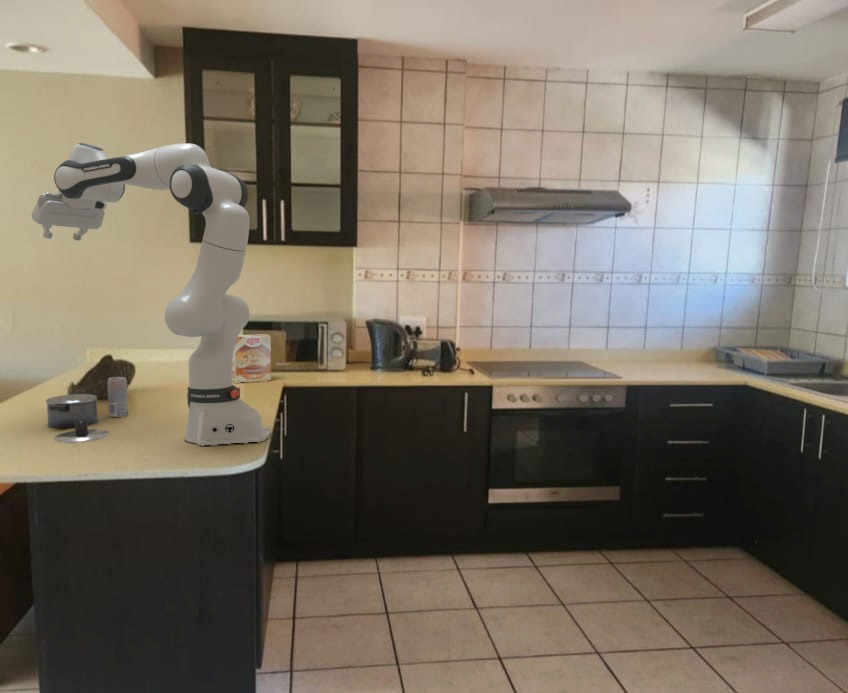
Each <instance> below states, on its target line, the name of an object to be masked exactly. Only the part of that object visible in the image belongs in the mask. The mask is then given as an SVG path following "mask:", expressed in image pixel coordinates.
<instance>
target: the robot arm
mask: <svg viewBox="0 0 848 693" xmlns="http://www.w3.org/2000/svg"><path fill="white" fill-rule="evenodd" d="M53 181H54V183H55V186H56V188H57V190H58V192H57V193H51V192H44V193H43V194H41V195H39V196H38V200H37V201H36V204H35V205H34V208H33V210H32V213H31V218H32V220H33V221H34V222H36V224H38V225H41V226H42V229H43V234H42V236H43V238H44V239H50V240H51V239H52V238H53V233H52V232H51V231H50V229H52V227H66V228H77V229H78V230H77V232H74V233H73V236H72V239H73V240H74V241H79V242H80V241H81V240H82V237H83V236H84V235H85V234H86V233H87V232H88V230H98V229H100V228H101V226H102V225H103V221H104V218H105V210H106V209H107V205H108V204H107V203H117V202H118V201H120V199H122V197H123V196H124V193H125V190H126V185H128V186H134V187H140V188H144V189H149V190H155V191H157V190H158V191H167V190H168V191H170V193H171V195H172V197H173V199H174V200H175V201H176V202H177V203H179V205H182V206H183V207H185V208H186V209H188V210H189V211H190V212H191V213H193V214H194V215H199V214H202V215H203V217H204V219H205V228H204V233H203V236H202V241H201V246H200V248H199V249H200V250H199V254H198V257H197V262H196V266H195V269H194V271H193V273H192V275H191V277H190V279H189V280H188V282H187V283H186V285H185V286H184V288H182V289H183V290H181V292H180V293H179V294H178V295H177V296H176V297H174V298H173V299H171V300H170V301H169V302H168V303H167V305H166V308H165V311H164V321H165V324H166V327H167V328H168V329H169V331H170V332H171V333H173V334H174V335H177V336H182V337H188V338H198V337H200V341H199V343H198V346H197V348H196V349H195V350H194V351H193V352H192V354H190V356H189V359H188V383H189V384H188V385H189V386H188V387H187V394H186V396H187V397H186V398H187V399H186V401H187V406H188V417H187V425H186V430H185V434H184V438H183V439H184V440H185V441H187V442H188V443H192V444H193V443H194V444H196V445H198V446H200V445H201V447H205V446H204V445H211V446H219V445H218V444H228V445H231V444H230V443H244V444H248V443H247V442H258V443H261V441H262V442H264V441H266V440H267V439H268V438H270V435H271V430H270V428H269V427H266V426H263V422H262V418H261V414H260V412H259V411H258V410H257V409H256V408H254V407H252V406H251V405H249V404H248V403H246V401H244V400H243V399H241V387H240V386H238V387H237V386H236V385H233V381H232V358H233V352H234V348H235V344H236V341H237V338H238V336H239V335H241V332H242V330H243V329H244V328H245V327H246V326H247V324H248V323H249V319H250V308H249V305H248V304H247V302H246V301H245V300H244V299H243V298H241V297H240V296H236V295H232V294H228V293H227V292H228V290H229V289H230V288H231V287H232V286H233V285H235V283H236V282H238V281H239V279H240V278H241V274H242V269H243V264H244V262H245V257H246V252H247V251H246V250H247V247H248V242H249V241H248V240H249V235H250V215H249V212H248V211H247V209H245V207H246V205H247V203H248V199H249V190H248V187H247V184H246V183H245V182H244V180H243V179H241V178H240V177H238V176H237V175H236V174H233V173H231V172H229V171H227V170H224V169H223V168H218V169H217V168H214V167H211V165H210V161H209V158H208V155H207V153H206V152H205V150H204V149H203V148H202V147H200V146H199V145H197V144H194V143H185V142H184V143H173V144H167V145H163V146H160V147H157V148H153V149H149V150H144V151H141V152H136V153H132V154H127V155H124V156H118V157H111V158H107V154H106V151H105V150H104V149H103V148H101V147H99V146H96V145H92V144H88V143H84V142H79V143H75V145H74V147H73V148H72V150H71V152H70V155H69V156H68V159H67V160H65V161H63V162H61V164H59V165H58V167H57V168H56V169H55V172H54V176H53Z"/></svg>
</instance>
